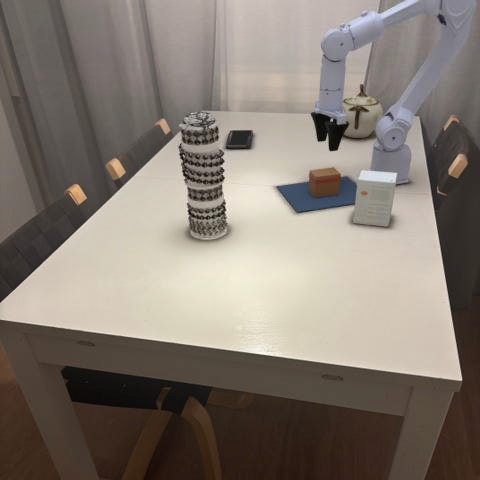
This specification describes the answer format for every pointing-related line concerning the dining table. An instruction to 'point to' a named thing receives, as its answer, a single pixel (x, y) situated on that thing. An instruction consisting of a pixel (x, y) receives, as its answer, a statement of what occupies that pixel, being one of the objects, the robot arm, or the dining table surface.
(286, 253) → the dining table surface
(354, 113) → the sugar bowl
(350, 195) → the napkin
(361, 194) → the small box
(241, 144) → the phone
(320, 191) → the packet
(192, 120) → the decorative candle
